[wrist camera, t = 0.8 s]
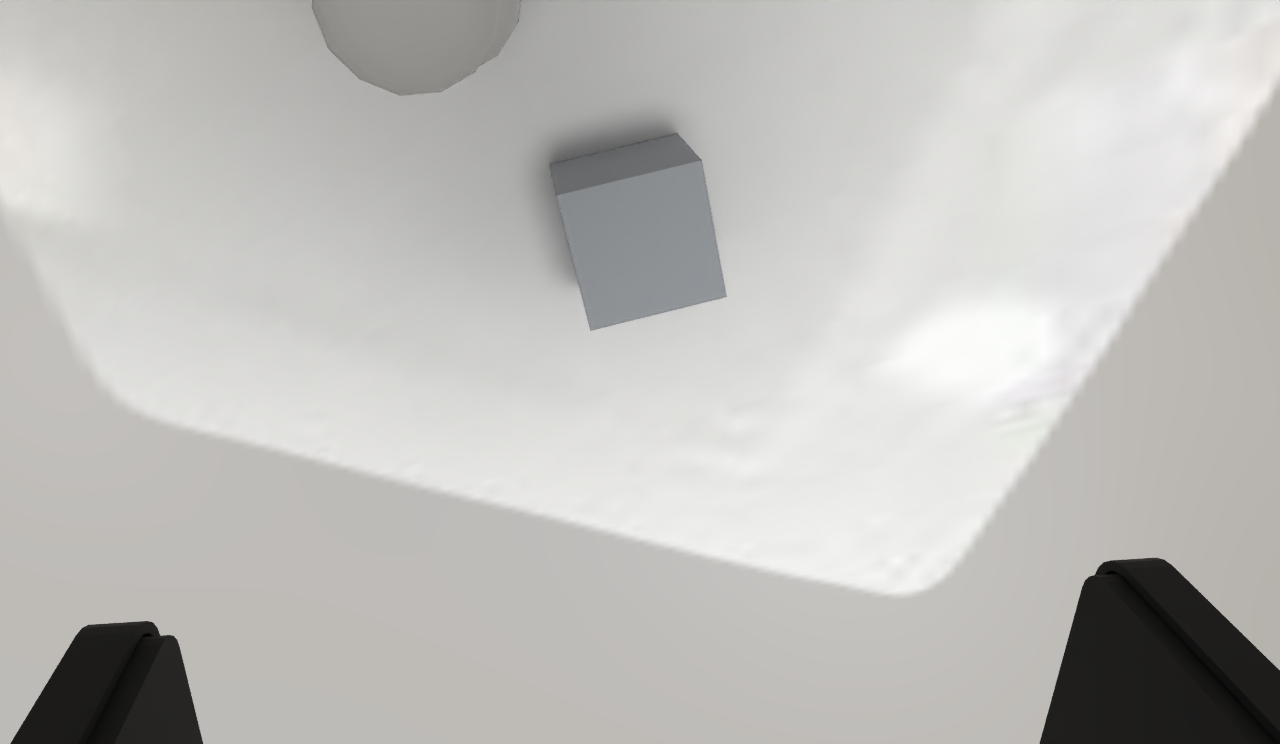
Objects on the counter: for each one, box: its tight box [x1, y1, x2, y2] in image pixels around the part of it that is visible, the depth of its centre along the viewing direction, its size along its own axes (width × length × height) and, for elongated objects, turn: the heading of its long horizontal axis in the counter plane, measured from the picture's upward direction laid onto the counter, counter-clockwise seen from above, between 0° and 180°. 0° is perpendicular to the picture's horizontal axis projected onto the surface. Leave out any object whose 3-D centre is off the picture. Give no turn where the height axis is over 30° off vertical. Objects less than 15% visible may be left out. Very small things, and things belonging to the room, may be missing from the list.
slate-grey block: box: [550, 133, 727, 331], centre depth 35 cm, size 5×5×5 cm
